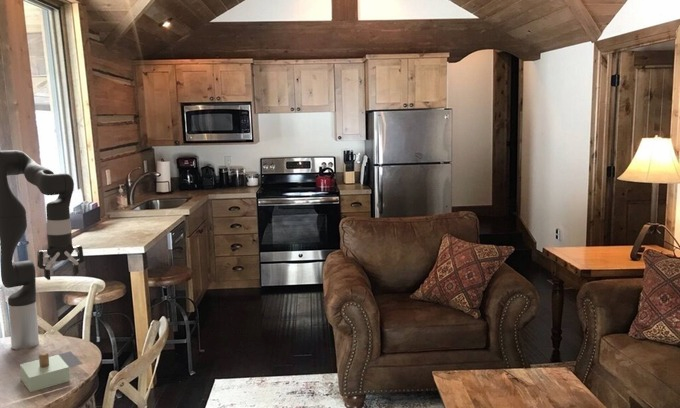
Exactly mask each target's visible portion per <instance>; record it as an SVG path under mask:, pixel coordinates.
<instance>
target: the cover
mask: <svg viewBox="0 0 680 408" xmlns="http://www.w3.org/2000/svg"><path fill="white" fill-rule="evenodd" d="M38 359H39V360H38ZM38 359H35V361H34V360H31V362H30V361H28V362H23V363H20V365H19V371H20V380H21V381H22V383H23V384H24V385H25V387H26V389H27V390H28V391H29V392H30V393H33V392H36V391H39V390H43V389H46V388H49V387H53V386H57V385H61V384H64V383H67V382H70V381H71V380H70V379H71V378H70V367H69V366H68V365H67V364H66V363H65V362H64V361H63V360H62V358H61V357H60V356H59V355H58V354H55V356H54V355H51V357H50V355H49V352H42V353H39V354H38Z"/></svg>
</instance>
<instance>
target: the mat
mask: <svg viewBox="0 0 680 408" xmlns="http://www.w3.org/2000/svg"><path fill="white" fill-rule="evenodd" d="M55 355H56V354H55ZM55 355H53V356H55ZM57 355H59V356H60V357H61V358H62V360H63V361H64V362H65V363H66V364H67V365H68V366H69V368H71V367H72V368H73V367H77V366H79V365H83V362H82V361H81V360H80V359H79V358H77V356H76V355H75V354H73V353H72V352H71V351H66V352H63V353H58V354H57ZM51 356H52V355H51ZM51 356H50V355H49V357H51ZM35 360H36V359H35ZM35 360H33V361H35ZM37 360H39V358H38V359H37ZM31 361H32V360H31ZM31 361H29V362H31Z"/></svg>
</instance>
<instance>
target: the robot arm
mask: <svg viewBox="0 0 680 408" xmlns="http://www.w3.org/2000/svg"><path fill="white" fill-rule="evenodd" d="M19 175H23V176H24V178H25V180H26V181H27V182H28V183H29V184H31V185H33V186H35V187H36V188H38V190H39V191H40V193H41V194H42V195H46V196H55V195H57V198H56V199H55V200H51V201H50V202H48V203H46V207H45V208H46V237H47V238H46V239H47V249H46V250H45V249H44V250H40V249H38V250H37V254H36V255H37V256H36V257H37V268H39V269H40V270H41V269H43V275H44V278H45V279H46V280H47V281H51V269H50V268H51V267H52V265H53V264H54V263H55V262H60V261H67V260H69V261H71V262H72V274H73V276H74V277H75V276H77V275H78V274H79V272H80V271H79V265H80V264H81V263H82V264H83V263H84V260H85V258H84V251H83V246H82V245H80V244H78V245H76V246H73V238H72V231H73V229H72V223H71V217H70V216H71V215H70V214H71V211H70V207H71V206H70V204H71V201H72V200H71V199H72V196H73V192H74V188H75V187H74V186H75V183H74V178H73V177H72V176H71V175H70V174H69V173H65V172H64V173H62V172H61V173H54V171H52V169H51V170H50V169H49V168H47V167H45V166H42V165H40V164H39V163H37V162H36V161H35V160H34V159H33V158H31V157H30V156H29V155H28V154H27V153H26V152H24V151H22V150H18V149H12V150H11V149H10V150H9V149H7V150H0V278H1V283H2V286H3V287H4V288H6V289H10V288H16V287H17V288H18V287H21V286H22V287H21V288H20V289H18V290H17V291H15V292H14V293H12V294H10V296H8V298H7V304H8V305H7V306H8V316H9V319H8V320H9V330H10V331H9V332H10V345H11V349H12V350H17V351H20V350H26V349H31V348H34V347H37V346H39V343H40V341H39V325H38V324H39V323H38V321H39V320H38V310H37V309H38V308H37V300H36V299H37V290H36V283H37V281H36V280H37V277H36V268H35V265H34V262H33V261H32V260H31V259H27V260H21V261H13V260H14V259H13V257H14V252H15V250H16V248H17V246H18V244H19V243H20V241H21V240H22V238H23V237H24V234H25V233H26V230H27V227H28V221H27V219H28V218H27V211H26V208H25V206H24V205H23V203H22V202H21V201H20V200H19V198H18V197H17V196H16V195H15V193H14V192H13V191H12V190H11V188H10V184H9V181H8V176H19ZM74 251H75V252H76V254H77V259H76V258H74V257H73V256H72V254H73V252H74ZM46 255H48V257H47V259H46V262H45V263H44V258H45V257H46Z"/></svg>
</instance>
